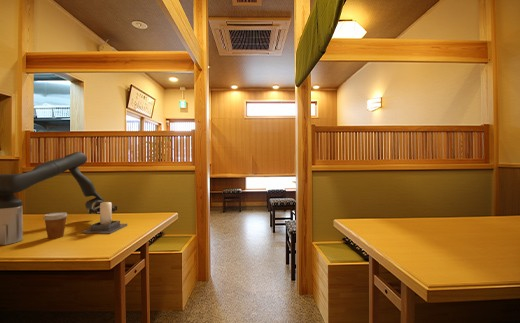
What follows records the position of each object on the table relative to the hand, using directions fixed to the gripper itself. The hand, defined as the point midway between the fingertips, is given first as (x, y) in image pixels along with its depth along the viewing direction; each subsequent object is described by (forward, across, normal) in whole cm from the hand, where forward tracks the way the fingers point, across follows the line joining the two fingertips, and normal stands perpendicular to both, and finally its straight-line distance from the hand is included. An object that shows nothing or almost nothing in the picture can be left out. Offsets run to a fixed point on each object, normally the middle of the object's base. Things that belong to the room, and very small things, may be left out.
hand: (105, 211), depth 138 cm
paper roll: (0, 0, +9) cm, 9 cm away
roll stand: (0, 0, +10) cm, 11 cm away
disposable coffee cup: (-2, -22, +11) cm, 24 cm away
